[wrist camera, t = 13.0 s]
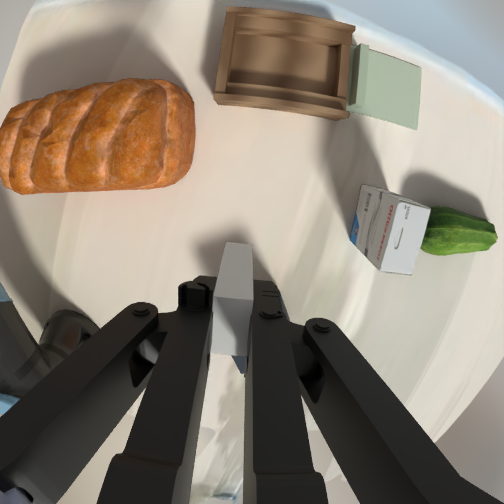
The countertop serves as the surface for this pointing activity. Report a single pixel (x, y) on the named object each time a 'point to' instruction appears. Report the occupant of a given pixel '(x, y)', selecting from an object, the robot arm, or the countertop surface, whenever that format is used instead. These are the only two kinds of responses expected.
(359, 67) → the lid
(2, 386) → the robot arm
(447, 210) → the vegetable
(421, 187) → the countertop surface
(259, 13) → the pencil box
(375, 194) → the ink box
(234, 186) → the countertop surface
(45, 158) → the bread
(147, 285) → the countertop surface
